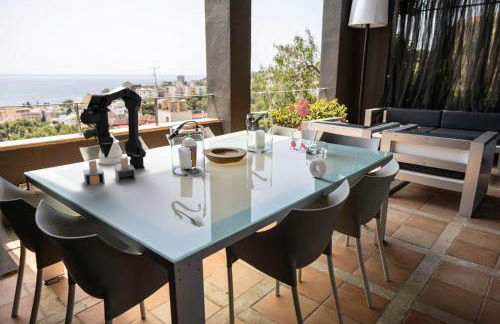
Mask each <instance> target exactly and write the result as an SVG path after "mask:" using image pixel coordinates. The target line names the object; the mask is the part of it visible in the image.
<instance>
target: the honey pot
mask: <svg viewBox="0 0 500 324" xmlns="http://www.w3.org/2000/svg"><path fill="white" fill-rule="evenodd" d="M109 133H110V136H111V137H112V138H113V142H114V143H113V144H112V147H111V149H110V152H109V154H108V157H106V158H105V156H104V154H102V152H101V149H100V148H99V151H98V162H99V164H101V165H113V164H119V163H121V160H120V157H123V151H122V149H121V147H120V144H119V143H120V140H118V139H116V137H115V136H114V135H113V133H114V130H109Z"/></svg>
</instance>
